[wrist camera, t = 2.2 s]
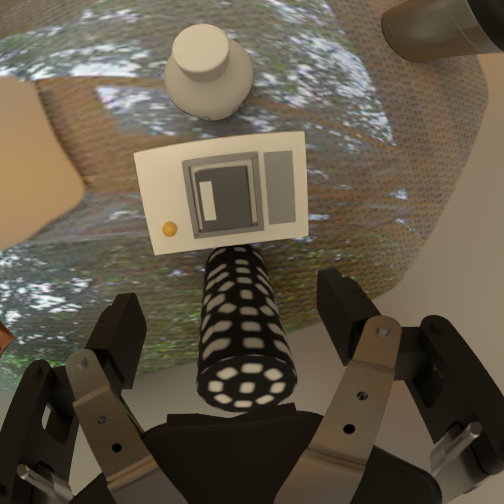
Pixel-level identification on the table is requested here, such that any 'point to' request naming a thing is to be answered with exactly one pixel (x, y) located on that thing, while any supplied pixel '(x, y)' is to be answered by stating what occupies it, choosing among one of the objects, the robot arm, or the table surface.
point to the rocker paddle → (224, 197)
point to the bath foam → (208, 73)
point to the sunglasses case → (5, 338)
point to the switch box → (217, 156)
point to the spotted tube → (241, 335)
